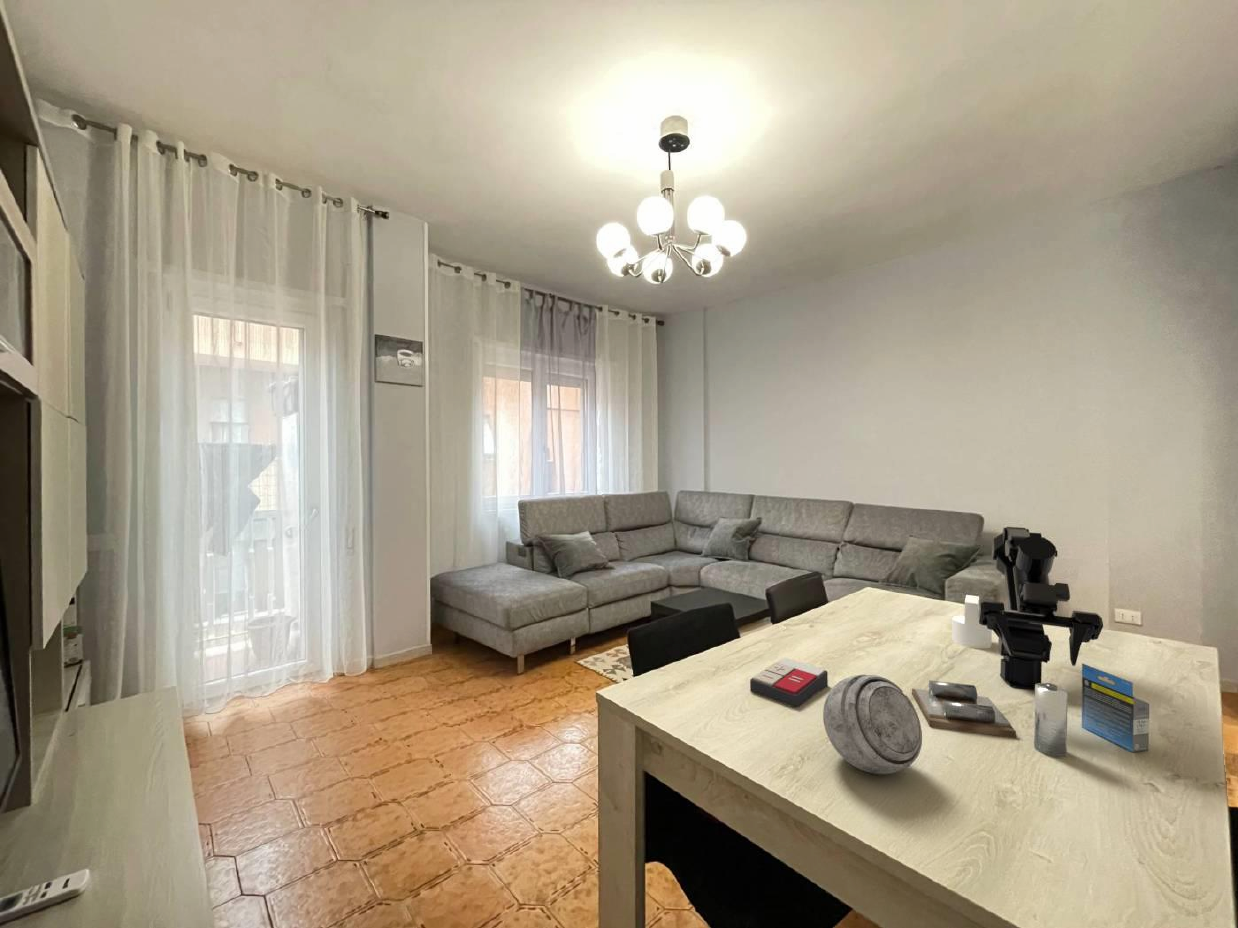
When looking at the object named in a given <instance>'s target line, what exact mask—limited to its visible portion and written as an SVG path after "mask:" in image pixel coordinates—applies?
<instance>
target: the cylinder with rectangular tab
mask: <svg viewBox="0 0 1238 928" xmlns="http://www.w3.org/2000/svg"><path fill="white" fill-rule="evenodd" d="M979 606H980V596H978V595H972V594H971V595H970V594H966V595H965V599H964V615H955V616H953V617H952V618H951V619H952V620H951V621H952V623H951V627H952V628H951V641H952V642H953V643H955V642H956V644H957V645H959V644H960V646H962V647H967V648H971V649H982V650H983V649H990V648H991V647H992V644H993V643H992V637H993V636H992V633H993V632H992V631H993V630H990V629H988V628H987V626H985V625H981V624H979Z"/></svg>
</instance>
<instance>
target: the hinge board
mask: <svg viewBox="0 0 1238 928" xmlns="http://www.w3.org/2000/svg"><path fill="white" fill-rule="evenodd" d="M915 689H916V688H911V695H912V697H913V699H914V700H915V703H916V705H917V706H918V708H919V709H920V712H921V714H922V715H923V717H924V718H925V721H926V722H927V724H928V726H929V727H931V728H939V729H946V730H954V731H961V732H962V731H963V732H968V733H978V734H983V735H992V736H1000V737H1005V738H1014V739H1016V737H1017V731H1016V730H1015V728H1014V727H1013V726H1012V725H1011V727H1006V726H998V725H991V724H990V723H984V722H976V721H968V720H960V719H952V718H948V719H944V718H936V717H929V715H928V713H927V712H926V710H925V708H924V706H923V705H922V703H921V701H920V699H919V697H918V696H917V694H916V692H915ZM927 690H928V691H929V689H927ZM980 697H982V696H980ZM936 698H937V699H938V701H939V702H940V704H941V705H942V701H951V702H959V703H968V704H974V702H973V701H971V700H963V699H954V698H946V697H937V696H936Z"/></svg>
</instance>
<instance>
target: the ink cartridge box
mask: <svg viewBox="0 0 1238 928" xmlns="http://www.w3.org/2000/svg"><path fill="white" fill-rule="evenodd" d="M1099 677H1100V678H1107V679H1108V680H1109V681H1110V682H1113V683H1114V684H1112V683H1110V682H1107V681H1105V680H1102V679H1100V678H1099ZM1133 686H1134V684H1133V682H1132V681H1128V680H1126V679H1125V678H1124V679H1123V678H1121V677H1119V676H1117V675H1114V674H1111V673H1109V672H1106V671H1103V670H1100V669H1097V668H1095V667H1093V666H1090V665H1088V664H1085V663H1081V728H1082V729H1085V730H1087V731H1089V732H1090V733H1093V734H1095V735H1097V736H1098V737H1101V738H1103V739H1106V740H1108V741H1110V742H1112V743H1114V744H1116V745H1118V746H1119V747H1122V748H1124V749H1125V750H1127V751H1128V752H1131V753H1138V752H1145V751H1149V745H1150V744H1149V742H1150V737H1149V736H1150V703H1148V702H1146V701H1144V700H1142V699H1140V698H1137V697H1135V696H1134V690H1133Z"/></svg>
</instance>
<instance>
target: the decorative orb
mask: <svg viewBox="0 0 1238 928" xmlns="http://www.w3.org/2000/svg"><path fill="white" fill-rule="evenodd" d="M822 719H823V725H824V726H823V727H824V730H825V733H826V736H827V738H828V740H829V741H830V744H831V745H832V746H833V747H832V748H833V749H834V750H835V751H836V752H837V753H838V755H840V757H842V758H843V760H845V761H846V762H847V763H848V764H850V765H852V766H853V767H855V768H857V769H859V770H861V771H864V772H867V773H870V774H876V775H889V774H894V773H897V772H900V771H902V770H905V769H907V768H909V767H910V766H911V765H912V764H914V762H915V761H916V760H917V758H918V757H919V755H920V753H921V749H922V745H923V730H922V725H921V721H920V718H919V715H918V712H917V711H916V708H915V707H914V704H913V702H912V701H911V699H910V697H908V695H906V694H904V691H903V689H902V688H901V687H899V685H897V684H896V683H894V682H893V681H891V680H890V679H887V678H885V677H882V676H881V675H876V674H856V675H851V676H848V677H845V678H843V679H841V680H839V682H837V683H836V684H835V685H834V686H833V687H832V688H831V689H830V691H829V692H828V694H827V696H826V698H825V701H824V704H823V710H822Z"/></svg>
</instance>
